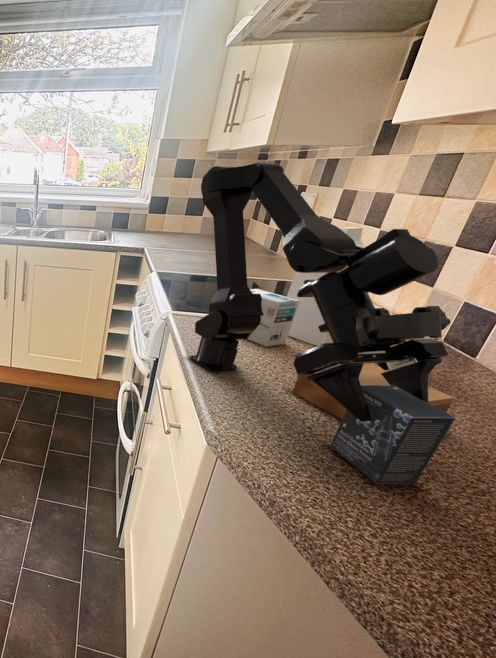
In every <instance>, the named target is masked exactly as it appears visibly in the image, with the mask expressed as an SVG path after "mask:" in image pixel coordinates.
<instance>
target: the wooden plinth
mask: <svg viewBox="0 0 496 658" xmlns="http://www.w3.org/2000/svg"><path fill="white" fill-rule="evenodd" d="M387 371H389V370H383V369H382V368H381V367H379V366H378V365H375V364H374V363H367V364H363V367H362V370H361V373H360V375H359V381H360V384H361V385H380V386H391V385H390V384H389V383H388V382H387V381H386V379H385V378H384V377H383V376H382V375H381V373H383V372H387ZM308 376H311V375H300V376H298V375H297V379H296V381H295V383H294V386H293V389H292V391H291V393H293V394H294V395H296V396H297V397H299V398H302V399H303V400H305V401H307V402H308V403H311V404H312V405H314V406H316V407H318V408H320V409H321V410H323V411H325V412H327V413H329V414H331V415H333V416H334V417H336V418H338V419H340V420H342V419H343V417H344V415H345V413H346V411H347V409H346V408H345V407H344V406H343V405H341V404H340V403H339V402H338V401H337V400H336V399H335V398H333V397H332V396H331V395H330V394H328V393H327V392H326V391H325V390H323V389H322V388H321V387H319V386H318V385H317V384H316V383H314V382H313V381H308V380H307V378H306V377H308ZM454 401H455V397H454V396H453V395H450V394H447V393H444V392H442V391H439V390H437V389H435V388H432V387H429V386H428V404H430V405H432V406H434V407H436V408H438V409H440V410H442V411H443V412H445V413H448V410H449V408H450V407H451V406H452V403H453V402H454Z"/></svg>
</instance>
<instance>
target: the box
mask: <svg viewBox="0 0 496 658" xmlns="http://www.w3.org/2000/svg"><path fill="white" fill-rule="evenodd" d="M361 387H362V390H363V393H364V396H365V399H366V402H367V405H368V408H369V412H370V416H371V420H370V421H366V422H361V421H360V420H358V419H357V418H356V417H355V416H354V415H353V414H352V413H351V412H349V411H348V410H347V411H346V413H345V415H344V417H343V419H341V422H340V423H339V425H338V428H337V430H336V432H335V434H334V437H333V438H332V441H331V443H330V445H329V447H330V449H331V450H333V451H335V452H336V453H337V454H338V455H340V456H341V457H342V459H343V458H344V459H345V461H347V462H348V463H350V464H351V465H352V466H353V467H354V468H356V469H357V470H358V471H360V472H361V473H362V474H363V475H365V476H366V477H367V478H368V479H369V480H370V481H372V482H373V483H374V484H375V485H415V484H417V482H418V481H419V479H420V477H421V476H422V474H423V472H424V470H425V469H426V467H427V465H428V464H429V462H430V461H431V459H432V457H433V456H434V454H435V452H436V451H437V449H438V447H439V446H440V445H441V443H442V441H443V439H444V438H445V436H446V434H447V433H448V432H449V430H450V428H451V426H452V425H453V423H454V421H455V420H456V417H455V416H453V415H452V414H450V413H448V412H446V413H445V412H443V411H442V410H440V409H438V408H436V407H434V406H432V405H430V404H428V403H426V402H424V401H422V400H421V399H419V398H417V397H415V396H413V395H411V394H409V393H407V392H405V391H404V390H402V389H401V388H399V387H397V386H396V385H394V386H380V385H361Z"/></svg>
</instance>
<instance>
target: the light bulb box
mask: <svg viewBox="0 0 496 658" xmlns="http://www.w3.org/2000/svg"><path fill="white" fill-rule="evenodd" d="M249 289H250V290H251V292H252V293H253V294H261V297H262V306H261V307H262V311H263V314H264V315H263V316H261V322H260V325H259V326H258V327H257V328H256V329H255V330H254V331H253V332H252V333H251V335H250V336H249V337H248V339H247V340H249V341H251V342H254V343H256V344H259V345H261V346H263V347H272V346H278V345H285V344H286V342H287V338H288V337H289V336H288V333H289V330H290V327H291V325H292V322H293V319H294V316H295V313H296V310H297V308H298V305H299V302H300V300H296V299H292V298H288V297H286V296H284V295H281V294H277V293H274V292H270V291H267V290H263V289H260V288H249Z"/></svg>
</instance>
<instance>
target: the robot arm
mask: <svg viewBox="0 0 496 658" xmlns="http://www.w3.org/2000/svg"><path fill="white" fill-rule="evenodd" d="M284 171H285V170H284V167H283V166H281V165H280V164H279V163H274V162H254V163H250V164H247V165H241V166H240V165H239V166H221V165H215V166H213V167H211V168H210V169H208V171H207V172H206V173H205V174H204V175H203V176H202V179H201V182H200V191H201V192H200V193H201V197H202V201H203V202H202V203H203V204H204V206H205V208H206V209H207V210H208V212H209V213H210V215H211V216H212V218H213V234H214V251H215V253H214V254H215V268H216V269H215V270H216V291H215V293H214V295H213V297H212V298H211V300H210V302H209V305H208V314H206V315H205V316H202V318H200V319H199V320H197V321H195V323H194V333H195V334H197V335H199V336H200V341H199V344H198V349H197V351H196V354H195V355H189V359H190V360H192V361H193V362H195V363H196V364H198V365H200V366H201V367H203V368H204V369H206V370H208V371H210V372H220V371H230V370H237V369H238V366H237V365H235V360H236V357H237V354H238V346H239V343H240V340H249V339H248V337H249V336H250V335H251V333H252V332H253V331H254V330H255V329H256V328H257V327H258V326H259V325H260V322H261V316H263V315H264V314H263V311H262V307H261V306H262V297H261V294H253V293H252V292H251V290H250V289H251V288H250V287H249V286H248V274H247V273H248V272H247V257H246V256H247V254H246V237H245V221H244V211H245V209H246V207H247V205H248V203H249V201H250V200H251V198H252V195H253V194H254V196H255V197H256V198H257V200H258V201H259V202H260V204H261V205H262V206H263V208H264V210H265V211H266V213H267V214H268V215H269V217H270V218H271V220H272V221H273V222H274V224H275V225H276V227H277V228H278V230H279V231H280V232H281V234H282V237H283V241H282V251H283V253H284V255H285V258H286V260H287V263H288V265H289V267H290V268H291V269H292V270H293V271H294V272H296V273H297V272H300V273H327V274H325V275H323V276H322V277H320V278H318V279H316V280H305V281H304V284H303V286H302V287H301V288H300V290H299V291H298V293H297V297H314V299H315V301H316V304H317V306H318V308H319V311H320V313H321V315H322V318H323V320H324V324H322V325H319V326H318V328H319V330H320V332H329V335H330V337H331V339H332V342H333V343H324V344H321V345H319V346H315V347H312V348H309V349H307V350H305V351H302V352H300V353H298V354H296V355H295V357H294V359H293V362H292V365H293V367H294V369H295V372H296V376H297V377H298V376H300V375H311V376H308V377H306V378H307V380H308V381H313V382H314V383H316V384H317V385H318V386H319V387H321V388H322V389H323V390H325V391H326V392H327V393H328V394H330V395H331V396H332V397H333V398H335V399H336V400H337V401H338V402H339V403H340V404H341V405H343V406H344V407H345V408H346V409H347V410H348V411H349V412H351V413H352V414H353V415H354V416H355V417H356V418H357V419H358V420H360V421H361V422H366V421H370V420H371V416H370V412H369V408H368V405H367V402H366V399H365V396H364V393H363V390H362V387H361V384H360V381H359V375H360V373H361V370H362V367H363V364H367V363H371V364H377V366H378V367H380V368H382V369H383V370H388V371H387V372H383V373H381V375H382V376H383V377H384V378H385V379H386V381H387V382H388V383H389V384H390V385H391V386H394V385H396V386H397V387H399V388H401V389H402V390H404V391H405V392H407V393H409V394H411V395H413V396H415V397H417V398H419V399H421V400H422V401H424V402H426V403H428V387H429V376H430V374H431V372H432V371H433V370H434V368H436V366H438V365H440V364H442V363H443V358H445V357H448V356H449V353H448V351H447V349H446V347H445V346H444V344H443V342H442V341H439V340H436V339H440V338H442V337H443V334H442V332H443V330H445V329H447V327H448V326H449V325H450V324H451V319H450V318H448V316H447V315H446V312H445V311H443V309H442V308H441V307H440V306H439V305H426V306H416V307H414V308H413V310H412V311H411V312H408V313H407V312H406V313H397V314H396V313H395V314H391V313H390V311H389V309H386V308H385V307H376V306H375V305H374V303H373V300H372V298H371V296H370V294H369V293H371V294H373V295H377V296H384V295H387V294H389V293H391V292H394V291H396V290H398V289H400V288H402V287H404V286H407V285H409V284H411V283H413V282H415V281H418V280H420V279H422V278H424V277H426V276H428V275H430V274H432V273H435V271H437V269H438V268H439V259H438V256H437V254H436V253H435V251H434V250H433V248H430V247H428V245H426V244H425V242H423V241H422V240H420V239H418V238H417V237H415V236H413V235H411V233H410V231H409V230H408V228H393V229H391V230H390V231H387V232H386V233H384V234H383V235H382V236H381V237H379V238H378V239H377V240H375V241H373V242H371V243H370V244H368V245H367V246H366V247H365V248H362V247H359V246H356V244H355V242H354V240H353V239H352V238H351V237H349V236H348V235H347V234H346V233H344V232H343V231H342V230H341V228H339V227H338V226H337V225H334V224H333V223H331V222H329V221H327V220H324V219H323V218H321V217H320V216H318V214H316V212H315V210H313V209H312V207H311V206H310V204H309V203H308V202H307V201H306V199H305V198H304V197H303V196H302V194H301V193H300V192H299V190H298V189H297V188H296V186H295V185H294V184H293V183H292V181H290V179H289V178H288V176H287V175H286V174H285V173H284ZM252 193H253V194H252ZM347 266H348V267H347ZM346 267H347V268H346ZM344 268H345V269H344ZM343 269H344V270H343ZM341 270H342V271H341ZM338 271H340V272H338ZM427 337H428V338H427Z"/></svg>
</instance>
